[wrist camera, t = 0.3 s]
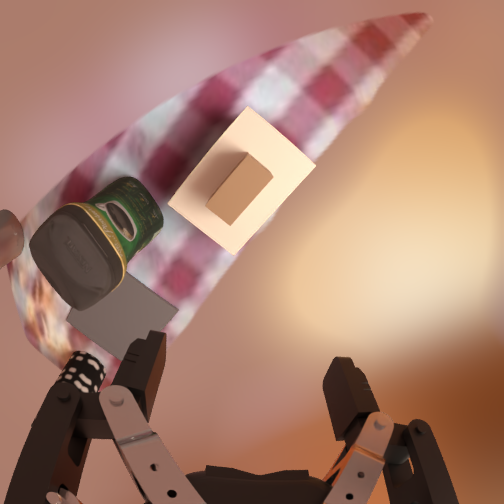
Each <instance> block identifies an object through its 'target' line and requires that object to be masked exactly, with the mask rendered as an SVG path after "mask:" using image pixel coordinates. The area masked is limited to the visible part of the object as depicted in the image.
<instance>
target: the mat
mask: <svg viewBox="0 0 504 504" xmlns="http://www.w3.org/2000/svg"><path fill="white" fill-rule="evenodd" d="M178 310H179V309H177V308H176V307H174V306H173V305H171V304H170V303H169V302H167V301H166V300H164V299H163V298H162V297H160V296H159V295H157V294H156V293H155V292H153V291H152V290H150V289H149V288H148V287H146V286H145V285H144V284H142V283H141V282H140V281H138V280H137V279H136V278H134V277H133V276H132V275H130V274H129V273H128V272H126V273H125V276H124V278H123V280H122V282H121V283H120V284H119V286H118V287H116V288H115V289H114V290H113V291H112V292H110V293H109V294H108V295H107V296H105V297H104V298H103V299H101V300H100V301H99V302H97V303H96V304H95V305H93V306H91V307H90V308H88V309H86V310H83V311H78V310H77V309H75V308H72V310H71V312H70V314H69V316H68V319H67V322H69V323H70V324H71V325H72V326H74V327H75V328H76V329H77V330H79V331H80V332H81V333H83V334H84V335H85V336H87V337H88V338H89V339H91V340H92V341H93V342H95V343H96V344H98V345H99V346H100V347H102V348H103V349H105V350H106V351H107V352H109V353H110V354H112V355H113V356H115V357H116V358H118V359H119V360H121V361H122V360H123V358H124V356H125V354H126V352H127V349H128V347H129V345H130V344H131V343H132V342H133V341H135V340H136V339H137V338H140V339H145V340H146V338H147V336H148V333H149V331H150V330H155V331H159V332H160V331H161V330H162V329H163V328H164V327H165V326H166V325H167V323H168V322H169V321H170V320H171V319H172V318H173V316H174V315H175V314H176V313H177V312H178Z"/></svg>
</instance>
